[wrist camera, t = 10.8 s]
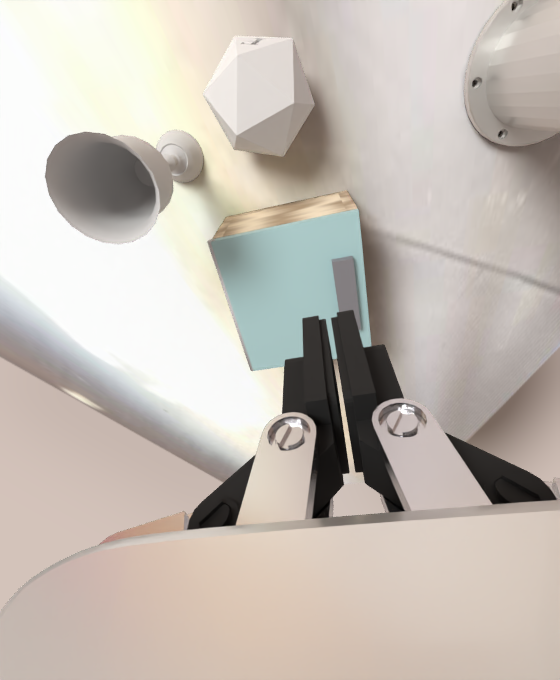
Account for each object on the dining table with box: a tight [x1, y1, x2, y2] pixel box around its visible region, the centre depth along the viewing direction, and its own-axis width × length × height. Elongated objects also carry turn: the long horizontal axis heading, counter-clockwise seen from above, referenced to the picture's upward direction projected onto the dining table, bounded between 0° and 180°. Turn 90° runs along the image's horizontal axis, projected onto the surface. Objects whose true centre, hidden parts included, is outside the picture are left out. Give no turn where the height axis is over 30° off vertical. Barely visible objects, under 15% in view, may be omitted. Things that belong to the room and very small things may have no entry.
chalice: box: [45, 130, 203, 244], centre depth 30 cm, size 7×7×18 cm
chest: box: [213, 190, 357, 239], centre depth 41 cm, size 14×16×8 cm
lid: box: [207, 209, 371, 371], centre depth 37 cm, size 14×16×2 cm
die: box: [203, 36, 315, 157], centre depth 31 cm, size 8×9×10 cm
